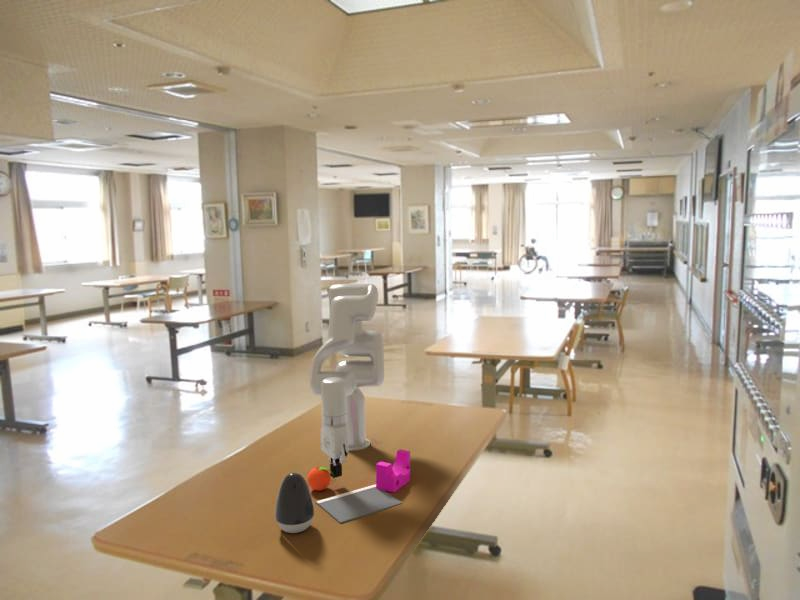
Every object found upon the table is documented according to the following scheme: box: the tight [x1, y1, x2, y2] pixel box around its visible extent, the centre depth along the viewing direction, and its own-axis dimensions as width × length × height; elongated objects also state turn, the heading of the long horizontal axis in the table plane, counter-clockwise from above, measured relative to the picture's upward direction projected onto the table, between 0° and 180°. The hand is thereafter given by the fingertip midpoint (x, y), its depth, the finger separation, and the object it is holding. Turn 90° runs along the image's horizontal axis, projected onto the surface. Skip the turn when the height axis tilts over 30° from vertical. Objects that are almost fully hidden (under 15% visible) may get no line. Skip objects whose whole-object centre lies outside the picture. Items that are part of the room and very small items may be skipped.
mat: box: [315, 483, 403, 524], centre depth 172 cm, size 15×20×1 cm
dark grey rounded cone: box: [274, 471, 315, 534], centre depth 157 cm, size 10×10×15 cm
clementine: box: [307, 466, 334, 492], centre depth 181 cm, size 8×7×7 cm
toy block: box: [375, 449, 411, 493], centre depth 185 cm, size 15×6×8 cm, turn 152°
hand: (336, 476), depth 184 cm, fingers closed
